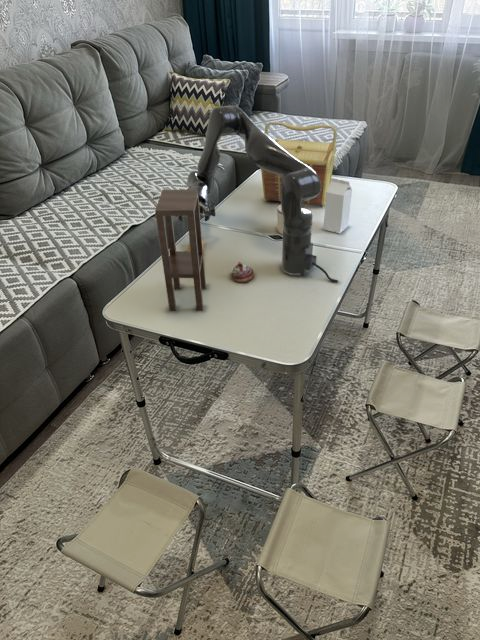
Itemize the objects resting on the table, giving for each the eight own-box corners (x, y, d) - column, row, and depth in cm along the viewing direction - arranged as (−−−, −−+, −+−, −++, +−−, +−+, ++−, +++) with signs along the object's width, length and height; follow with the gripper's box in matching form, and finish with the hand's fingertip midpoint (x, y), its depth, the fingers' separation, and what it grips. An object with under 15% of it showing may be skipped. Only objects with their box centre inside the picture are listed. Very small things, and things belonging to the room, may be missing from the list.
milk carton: (340, 234, 192) (345, 184, 180) (323, 229, 195) (327, 181, 183) (347, 226, 197) (353, 178, 185) (331, 222, 200) (335, 174, 188)
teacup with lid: (294, 238, 190) (295, 208, 182) (272, 232, 193) (272, 203, 186) (307, 225, 198) (309, 196, 190) (286, 220, 201) (287, 192, 194)
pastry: (227, 273, 170) (227, 260, 167) (248, 268, 172) (248, 255, 169) (236, 285, 164) (236, 271, 161) (258, 280, 167) (258, 266, 164)
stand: (175, 286, 164) (162, 189, 144) (206, 285, 164) (197, 189, 144) (169, 310, 153) (155, 210, 133) (202, 310, 153) (193, 210, 133)
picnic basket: (335, 188, 226) (341, 116, 207) (327, 212, 207) (333, 135, 188) (271, 183, 231) (271, 112, 212) (257, 206, 212) (257, 130, 193)
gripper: (176, 189, 185) (171, 208, 172) (216, 189, 185) (213, 208, 173) (179, 209, 190) (174, 229, 177) (217, 209, 190) (214, 228, 177)
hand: (193, 218), depth 175 cm, fingers open, 8 cm apart
